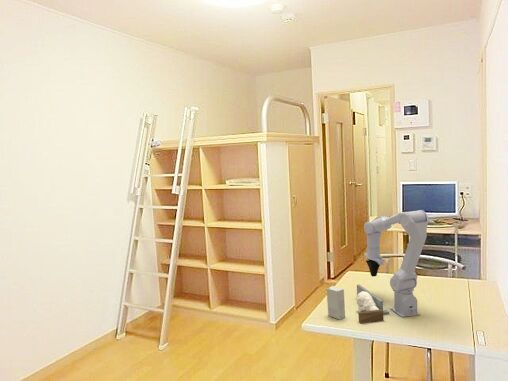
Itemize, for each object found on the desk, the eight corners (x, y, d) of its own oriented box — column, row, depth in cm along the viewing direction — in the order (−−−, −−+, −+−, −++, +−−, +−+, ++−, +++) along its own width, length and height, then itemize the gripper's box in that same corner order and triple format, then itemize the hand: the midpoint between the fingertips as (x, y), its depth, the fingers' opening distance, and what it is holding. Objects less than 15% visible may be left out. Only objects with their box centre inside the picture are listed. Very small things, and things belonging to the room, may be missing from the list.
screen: (389, 314, 166) (389, 300, 166) (380, 315, 165) (379, 301, 165) (365, 296, 188) (365, 283, 187) (356, 297, 187) (356, 284, 186)
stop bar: (383, 320, 160) (383, 310, 160) (360, 323, 158) (360, 313, 158) (381, 318, 162) (381, 309, 161) (358, 321, 160) (358, 312, 160)
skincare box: (345, 317, 165) (345, 288, 164) (338, 320, 162) (338, 291, 161) (333, 312, 170) (333, 285, 169) (326, 316, 167) (326, 287, 166)
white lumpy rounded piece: (367, 288, 173) (385, 300, 161) (366, 307, 174) (384, 319, 163) (355, 290, 171) (372, 302, 159) (354, 309, 172) (371, 322, 161)
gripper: (389, 249, 177) (389, 279, 178) (373, 243, 191) (374, 270, 192) (374, 251, 175) (375, 281, 177) (360, 244, 190) (360, 272, 191)
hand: (373, 275), depth 184 cm, fingers closed
